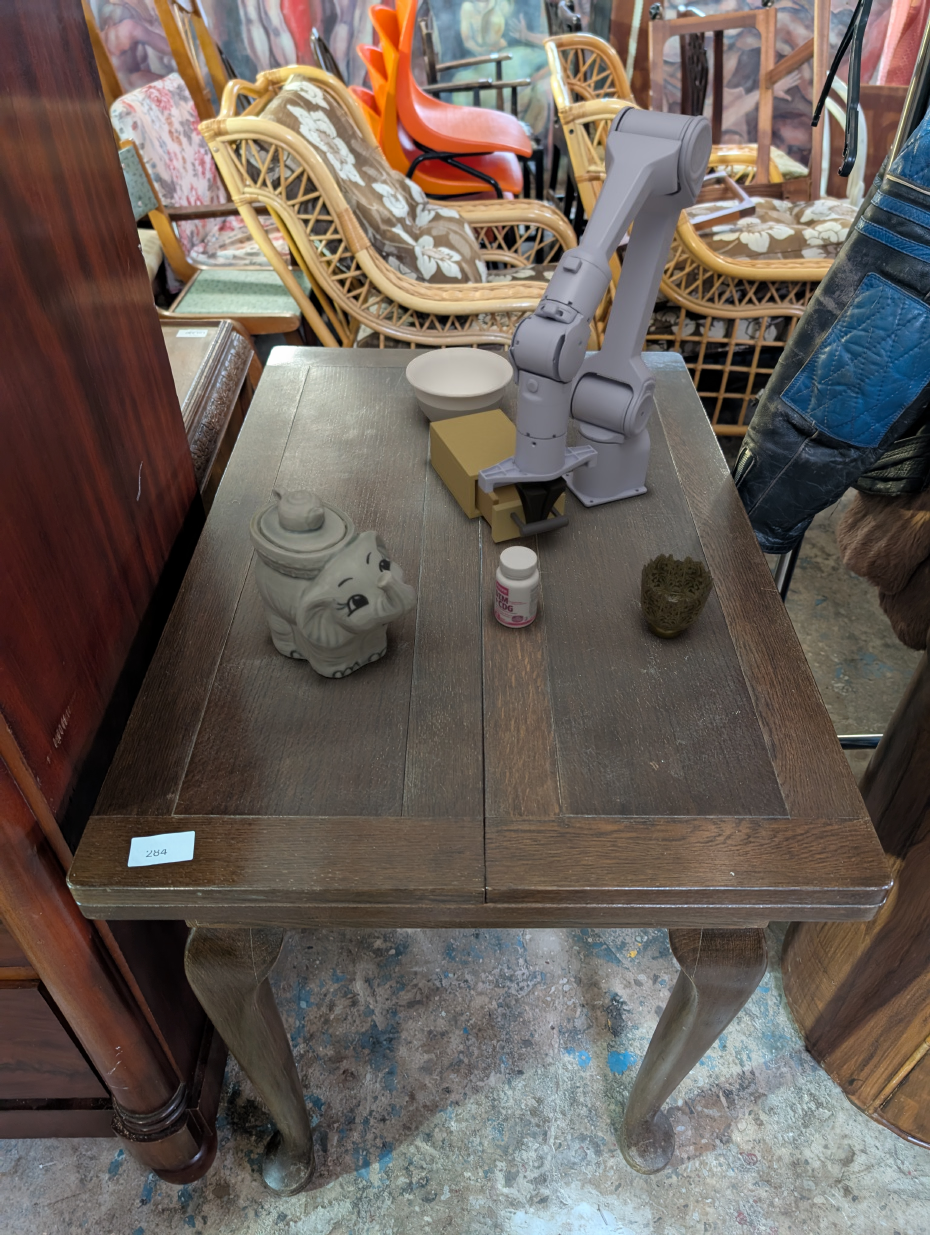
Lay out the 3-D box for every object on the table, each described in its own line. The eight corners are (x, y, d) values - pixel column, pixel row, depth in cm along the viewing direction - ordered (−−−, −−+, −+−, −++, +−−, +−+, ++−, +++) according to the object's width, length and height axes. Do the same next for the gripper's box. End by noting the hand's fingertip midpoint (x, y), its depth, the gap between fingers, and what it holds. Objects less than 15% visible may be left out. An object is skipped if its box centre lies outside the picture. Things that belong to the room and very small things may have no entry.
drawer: (578, 544, 98) (582, 513, 95) (509, 562, 96) (510, 530, 93) (518, 472, 111) (519, 442, 107) (455, 486, 108) (455, 456, 105)
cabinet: (542, 501, 107) (545, 459, 102) (469, 519, 104) (469, 476, 100) (498, 449, 117) (499, 408, 112) (431, 463, 114) (429, 422, 110)
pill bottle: (488, 623, 89) (489, 564, 84) (502, 597, 93) (504, 539, 87) (528, 633, 88) (532, 575, 82) (541, 607, 91) (546, 549, 86)
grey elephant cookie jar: (423, 693, 82) (415, 548, 69) (275, 719, 79) (238, 573, 66) (397, 591, 93) (386, 451, 81) (267, 610, 91) (234, 469, 78)
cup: (703, 615, 90) (718, 560, 85) (695, 659, 85) (710, 604, 80) (637, 601, 92) (648, 546, 87) (625, 643, 87) (636, 588, 81)
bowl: (419, 454, 116) (416, 400, 110) (400, 403, 127) (396, 352, 121) (523, 441, 119) (526, 388, 113) (495, 392, 130) (497, 342, 124)
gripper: (580, 399, 93) (569, 497, 102) (467, 423, 89) (466, 523, 98) (612, 426, 88) (598, 526, 97) (494, 453, 84) (491, 555, 93)
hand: (534, 527), depth 97 cm, fingers closed, pressing on drawer
